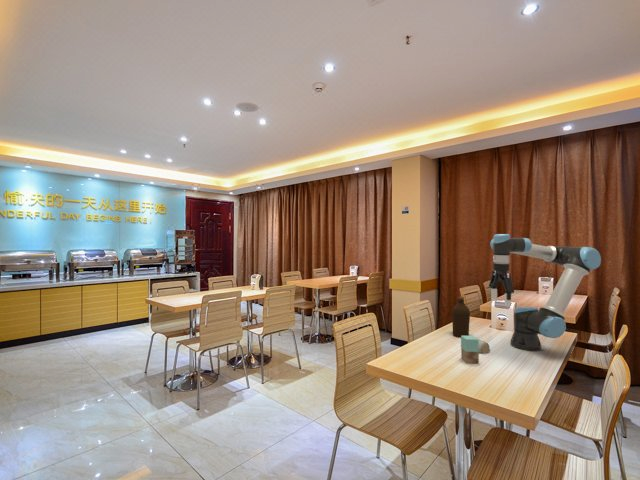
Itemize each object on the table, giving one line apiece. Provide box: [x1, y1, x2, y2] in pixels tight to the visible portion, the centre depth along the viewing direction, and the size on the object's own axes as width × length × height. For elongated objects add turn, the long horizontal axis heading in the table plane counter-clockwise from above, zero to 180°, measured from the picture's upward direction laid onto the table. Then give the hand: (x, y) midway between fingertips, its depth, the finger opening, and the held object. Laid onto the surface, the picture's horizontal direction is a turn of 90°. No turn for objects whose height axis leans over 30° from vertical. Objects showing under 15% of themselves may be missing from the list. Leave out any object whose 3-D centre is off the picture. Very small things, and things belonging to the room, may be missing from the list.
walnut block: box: [460, 347, 480, 365], centre depth 158 cm, size 6×6×6 cm
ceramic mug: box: [474, 336, 491, 355], centre depth 174 cm, size 11×8×8 cm
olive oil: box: [451, 296, 471, 339], centre depth 204 cm, size 11×11×25 cm
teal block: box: [460, 335, 479, 352], centre depth 158 cm, size 6×6×6 cm
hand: (500, 303), depth 167 cm, fingers open, 13 cm apart
